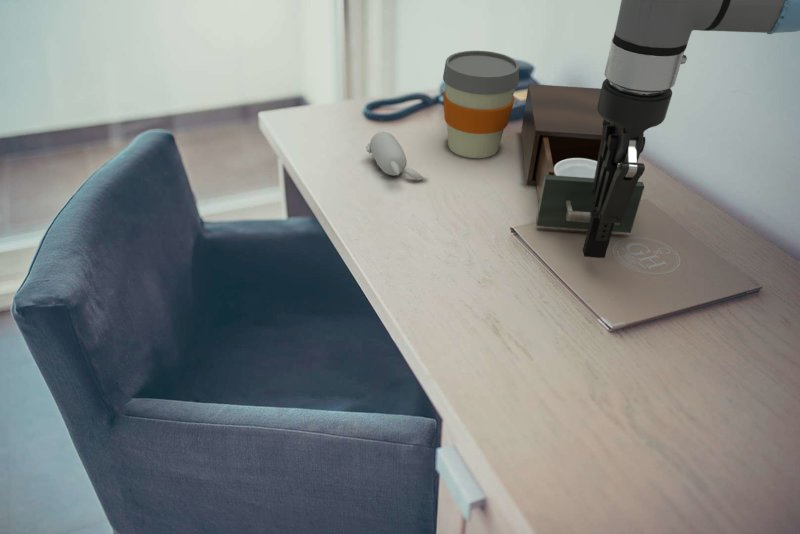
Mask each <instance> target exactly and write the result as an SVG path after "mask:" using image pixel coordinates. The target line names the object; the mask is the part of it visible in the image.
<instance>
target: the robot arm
mask: <svg viewBox="0 0 800 534" xmlns="http://www.w3.org/2000/svg"><path fill="white" fill-rule="evenodd" d="M693 31H699V32H701V31H702V32H729V33H731V32H734V33H735V32H737V33H762V34H763V33H764V34H767V35H772V34H773V35H774V34H780V33H782V34H783V33H795V32H800V0H621V1H620V6H619V10H618V15H617V19H616V25H615V30H614V34H613V36H612V39H611V42H610V46H609V51H608V55H607V60H606V64H605V69H604V76H605V79H604V80H603V81H602V84H601V88H600V89H601V92H600V97H599V101H598V106H597V110H598V113H599V114H600V116H601V117H603V118H604V121H603V123H602V125H603V128H602V138H601V144H600V149H599V155H598V161H597V166H596V172H595V178H594V183H593V189H592V195H594V200H593V207H596V208H595V209H593V210H591V211H590V217H591V218H590V222H589V226H588V230H586V234H585V238H584V242H583V247H582V254H583V257H584V258H585V257H586V258H597V259H605V258H606V255H607V251H608V248H609V244H610V240H611V237H612V233H613V232H612V230H613V226H614V223H621V222H622V219H623V217H624V214H625V212H626V209H627V207H628V204H629V202H630V199H631V197H632V194H633V192H634V189H635V187H636V184H637V182H639V180H640V179H641V177H642V176H643V175H644V172H645V170H646V167H645V166H646V165H645V163H642V162H639V159H640V155H641V154H642V153H643V152H644V150H645V149H644V148H645V146H646V136H645V134H644V133H645V132H646V131H647V130H648V129H651V128H655V127H658V126H659V125H661V124H662V123H664V121H665V119H666V116H667V113H668V110H669V107H670V103H671V101H672V97H673V90H672V89H671V88H673V87H674V86H675V84H676V81H677V78H678V76H679V71H680V68H681V65H685V64H686V62H687V60H688V57H687V55H685V51H687V46H688V43H689V40H690V37H691V35H692V32H693Z"/></svg>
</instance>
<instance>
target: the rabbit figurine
mask: <svg viewBox="0 0 800 534" xmlns="http://www.w3.org/2000/svg"><path fill="white" fill-rule="evenodd" d="M369 141H370V142H369V143H368V144H366V152H367V153H368V154H372V155H371V159H372V160H374V161H375V162H376V165H377V166H378V167H379V168H380V169H381V171H382V172H383V173H385V175H388V176H393V177H395V176H399V175H400V174H401V173H402V172H403V171H404V173H405V174H406V175H407V176H408V177H410V178H411V179H414V180H417V181H421V180H423V179H424V177H423V176H422V174H420V173H419V172H418V171H416V170H415V169H413V168H411V167H407V165H408V164H407V156H406V153H405V152H404V149H403V148H402V146H401V144H400V143H399V140H398V139H397V138H396V137H395V136H394V135H393V134H392V133H391V132H388V131H385V130H383V131H378V132H377V133H375V134H374V135H373V136H372V137H371V139H370V140H369Z"/></svg>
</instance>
